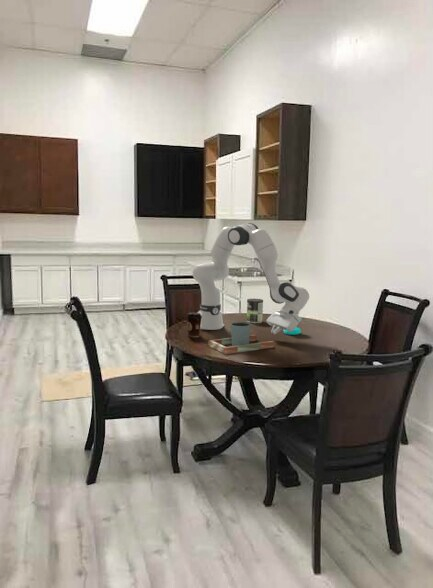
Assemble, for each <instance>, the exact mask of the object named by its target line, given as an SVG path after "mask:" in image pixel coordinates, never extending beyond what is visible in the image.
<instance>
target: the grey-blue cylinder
mask: <svg viewBox="0 0 433 588" xmlns="http://www.w3.org/2000/svg"><path fill="white" fill-rule="evenodd" d="M250 331H251V323H249V322H247V321H246V322H243V321H239V322H237V321H236V322H235V321H234V322H231V323H230V333H231V338H232V344H231V346H238V345H245V344H250V341H249V337H250V335H251V332H250Z"/></svg>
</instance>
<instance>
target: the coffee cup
mask: <svg viewBox="0 0 433 588" xmlns="http://www.w3.org/2000/svg"><path fill="white" fill-rule="evenodd" d="M185 317H186V319H187V320H186V325H187V333H188V334H187V335H188V337H190V338H200V336H201V335H200V333H201V329H200V325H201V318H202V316H201V314H200V313H198V312H193V311H192V312H188V313H187V314H186V316H185Z"/></svg>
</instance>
